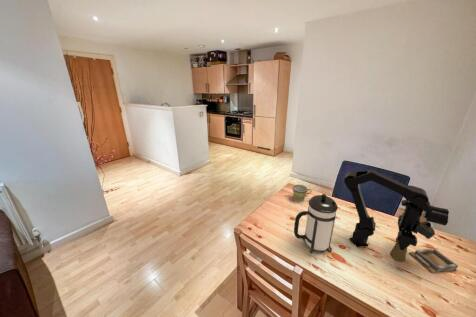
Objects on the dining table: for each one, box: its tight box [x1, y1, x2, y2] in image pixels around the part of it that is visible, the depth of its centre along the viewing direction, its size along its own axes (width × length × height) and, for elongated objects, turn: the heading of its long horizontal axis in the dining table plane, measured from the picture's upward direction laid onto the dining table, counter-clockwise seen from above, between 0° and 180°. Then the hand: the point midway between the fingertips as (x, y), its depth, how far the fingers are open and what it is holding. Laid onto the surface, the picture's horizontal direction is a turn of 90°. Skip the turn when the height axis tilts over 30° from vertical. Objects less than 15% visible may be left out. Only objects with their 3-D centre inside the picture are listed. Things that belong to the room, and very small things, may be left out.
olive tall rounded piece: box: [389, 237, 410, 263], centre depth 93 cm, size 6×6×11 cm
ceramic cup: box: [292, 184, 312, 203], centre depth 141 cm, size 13×10×10 cm
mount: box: [408, 247, 459, 274], centre depth 92 cm, size 12×11×3 cm
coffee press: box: [293, 193, 339, 254], centre depth 97 cm, size 17×16×30 cm
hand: (401, 243), depth 92 cm, fingers open, 9 cm apart
